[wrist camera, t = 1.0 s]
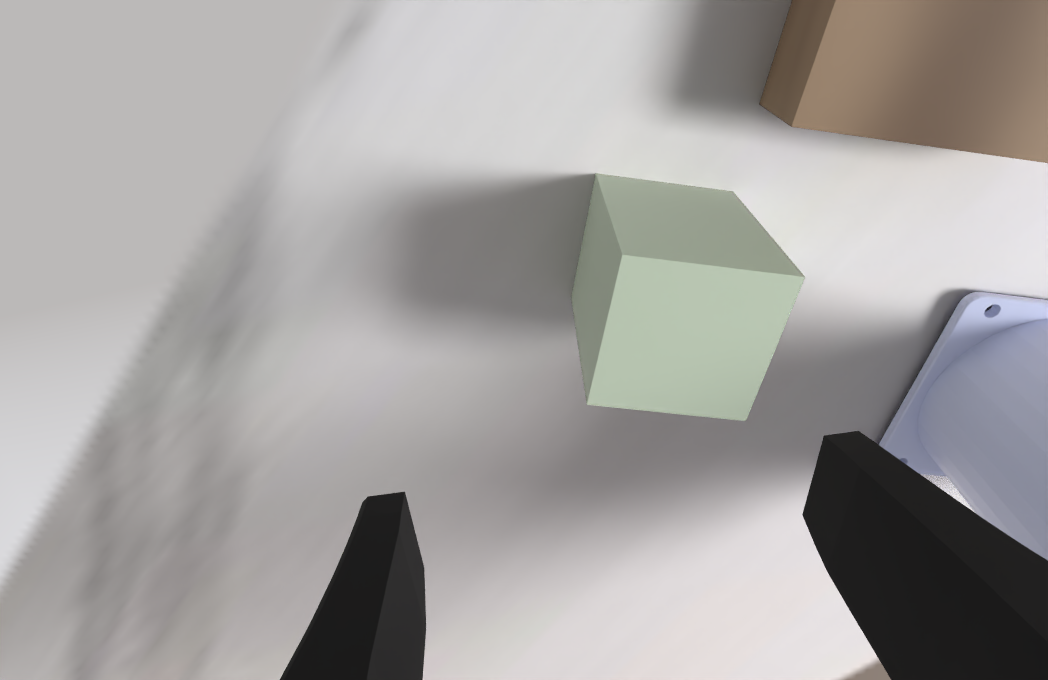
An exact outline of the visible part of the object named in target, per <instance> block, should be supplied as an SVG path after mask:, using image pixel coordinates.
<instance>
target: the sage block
mask: <svg viewBox="0 0 1048 680" xmlns="http://www.w3.org/2000/svg"><path fill="white" fill-rule="evenodd" d="M804 279H805V276H804V275H803V274H802V273H801V272H800V270H799V269H798V268H797V267H796V266H795V264H794V263H793V262H792V261H791V260H790V259H789V257H788V256H787V255H786V254H785V253H784V251H783V250H782V249H781V248H780V247H779V245H778V244H777V243H776V242H775V241H774V239H773V238H772V237H771V236H770V235H769V234H768V232H767V231H766V230H765V229H764V228H763V226H762V225H761V224H760V223H759V222H758V220H757V219H756V218H755V217H754V216H753V215H752V213H751V212H750V211H749V210H748V209H747V207H746V206H745V205H744V204H743V203H742V201H741V200H740V199H739V198H738V197H737V196H736V194H735V193H734V192H732V191H725V190H717V189H710V188H702V187H695V186H687V185H679V184H672V183H664V182H657V181H649V180H642V179H634V178H627V177H619V176H611V175H604V174H596V175H595V180H594V185H593V190H592V195H591V200H590V205H589V210H588V215H587V220H586V225H585V230H584V235H583V240H582V245H581V250H580V255H579V260H578V265H577V271H576V276H575V281H574V286H573V291H572V296H571V301H572V307H573V314H574V321H575V328H576V335H577V341H578V348H579V355H580V362H581V369H582V375H583V382H584V389H585V396H586V403H587V405H594V406H603V407H613V408H623V409H632V410H642V411H652V412H661V413H671V414H681V415H690V416H700V417H710V418H719V419H729V420H739V421H746V420H747V417H748V415H749V413H750V410H751V408H752V405H753V403H754V400H755V398H756V396H757V393H758V391H759V388H760V386H761V383H762V381H763V379H764V376H765V374H766V371H767V369H768V366H769V364H770V361H771V359H772V357H773V354H774V352H775V349H776V347H777V344H778V342H779V340H780V337H781V335H782V332H783V330H784V327H785V325H786V322H787V320H788V318H789V315H790V313H791V310H792V308H793V305H794V303H795V301H796V298H797V296H798V293H799V291H800V288H801V286H802V284H803V281H804Z"/></svg>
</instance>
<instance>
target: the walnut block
mask: <svg viewBox="0 0 1048 680" xmlns="http://www.w3.org/2000/svg"><path fill="white" fill-rule="evenodd" d="M759 104H760V105H761V106H763V107H764V108H765V109H767V110H768V111H770V112H771V113H773V114H774V115H775V116H777V117H778V118H780V119H781V120H783V121H784V122H785V123H787V124H788V125H790V126H791V127H797V128H804V129H811V130H818V131H825V132H833V133H840V134H847V135H854V136H861V137H868V138H875V139H882V140H889V141H896V142H903V143H910V144H917V145H924V146H931V147H939V148H946V149H953V150H960V151H967V152H974V153H981V154H988V155H995V156H1002V157H1009V158H1016V159H1023V160H1030V161H1037V162H1045V163H1048V0H792V2H791V6H790V9H789V12H788V15H787V18H786V21H785V24H784V28H783V31H782V34H781V37H780V40H779V43H778V47H777V50H776V53H775V56H774V59H773V62H772V65H771V69H770V72H769V75H768V78H767V81H766V84H765V87H764V91H763V94H762V97H761V100H760V103H759Z"/></svg>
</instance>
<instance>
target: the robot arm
mask: <svg viewBox="0 0 1048 680" xmlns="http://www.w3.org/2000/svg"><path fill="white" fill-rule="evenodd" d="M991 305H993V306H992V307H991V308H990V310H988V311H986V312H985V310H986V309H987V308H988V307H989V306H991ZM900 458H901V459H900ZM920 474H927V475H937V476H947V477H948V479H949V480H950V481H951V483H952V484H953V485H954V486H955V488H956V489H957V490H958V491H959V493H960V494H961V495H962V496H963V498H964V499H965V500H966V501H967V503H968V504H969V505H970V506H971V508H972V509H973V510H974V512H975V513H974V512H973V511H972V510H970V509H969V508H967V507H966V506H964V505H963V504H961V503H960V502H959V501H957V500H956V499H954V498H953V497H951V496H950V495H949V494H947V493H946V492H944V491H943V490H941V489H940V488H939V487H937V486H936V485H934V484H933V483H932V482H930V481H929V480H927V479H926V478H924V477H923V476H922V475H920ZM803 517H804V520H805V522H806V524H807V527H808V529H809V532H810V534H811V536H812V539H813V541H814V544H815V546H816V548H817V550H818V552H819V555H820V557H821V559H822V561H823V563H824V566H825V568H826V570H827V572H828V574H829V575H830V577H831V579H832V581H833V582H834V584H835V586H836V587H837V589H838V591H839V593H840V594H841V596H842V598H843V599H844V601H845V603H846V605H847V606H848V608H849V610H850V611H851V613H852V615H853V616H854V618H855V620H856V621H857V623H858V625H859V626H860V628H861V630H862V631H863V633H864V635H865V636H866V638H867V640H868V641H869V643H870V645H871V646H872V648H873V650H874V652H875V653H876V655H877V657H878V658H879V660H880V662H881V663H882V665H883V666H884V668H885V670H886V671H887V673H888V675H889V677H890V678H891V680H1048V300H1043V299H1035V298H1027V297H1019V296H1011V295H1002V294H994V293H986V292H973V293H970V294H968V295H966V296H965V297H964V298H962V300H961V301H960V302H959V304H958V305H957V307H956V309H955V311H954V312H953V314H952V316H951V318H950V319H949V321H948V323H947V325H946V326H945V328H944V330H943V332H942V334H941V335H940V337H939V339H938V341H937V342H936V344H935V346H934V348H933V349H932V351H931V353H930V355H929V357H928V358H927V360H926V362H925V364H924V365H923V367H922V369H921V371H920V372H919V374H918V376H917V378H916V379H915V381H914V383H913V385H912V387H911V388H910V390H909V392H908V394H907V395H906V397H905V399H904V401H903V402H902V404H901V406H900V408H899V410H898V411H897V413H896V415H895V417H894V418H893V420H892V422H891V424H890V425H889V427H888V429H887V431H886V432H885V434H884V436H883V438H882V440H881V441H880V443H879V445H878V444H877V443H875V442H874V441H872V440H871V439H869V438H868V437H866V436H865V435H863V434H862V433H860V432H859V431H855V432H848V433H840V434H833V435H825V436H824V438H823V442H822V445H821V449H820V452H819V456H818V460H817V463H816V467H815V471H814V474H813V478H812V482H811V485H810V489H809V493H808V496H807V500H806V504H805V507H804V511H803ZM425 635H426V610H425V578H424V565H423V561H422V558H421V554H420V550H419V546H418V542H417V538H416V534H415V530H414V526H413V522H412V518H411V514H410V510H409V506H408V502H407V499H406V495H405V492H399V493H392V494H384V495H377V496H369V497H367V498H366V499H365V500H364V501H363V503H362V505H361V508H360V511H359V514H358V517H357V519H356V522H355V525H354V527H353V530H352V532H351V535H350V537H349V540H348V542H347V545H346V547H345V549H344V552H343V554H342V556H341V559H340V561H339V563H338V566H337V568H336V570H335V572H334V575H333V577H332V579H331V581H330V583H329V585H328V587H327V589H326V591H325V594H324V596H323V598H322V600H321V602H320V604H319V606H318V608H317V610H316V612H315V614H314V616H313V619H312V621H311V623H310V625H309V626H308V628H307V630H306V632H305V634H304V636H303V638H302V640H301V642H300V643H299V645H298V647H297V649H296V651H295V653H294V654H293V656H292V658H291V660H290V662H289V664H288V666H287V667H286V669H285V671H284V673H283V675H282V677H281V679H280V680H422V678H423V664H424V650H425Z"/></svg>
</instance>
